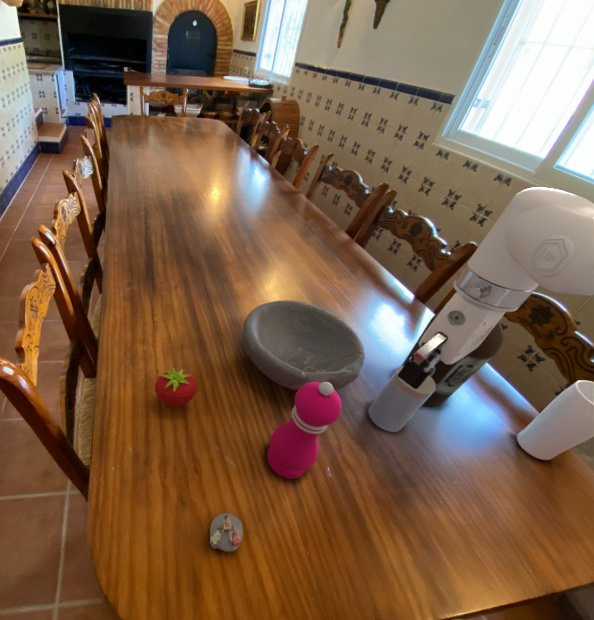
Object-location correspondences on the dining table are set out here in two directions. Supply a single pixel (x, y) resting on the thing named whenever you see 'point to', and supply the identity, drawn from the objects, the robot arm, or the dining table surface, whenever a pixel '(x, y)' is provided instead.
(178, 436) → the dining table surface
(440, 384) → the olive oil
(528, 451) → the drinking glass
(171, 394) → the red tomato
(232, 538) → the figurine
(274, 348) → the bowl
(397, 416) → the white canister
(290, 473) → the pepper mill
